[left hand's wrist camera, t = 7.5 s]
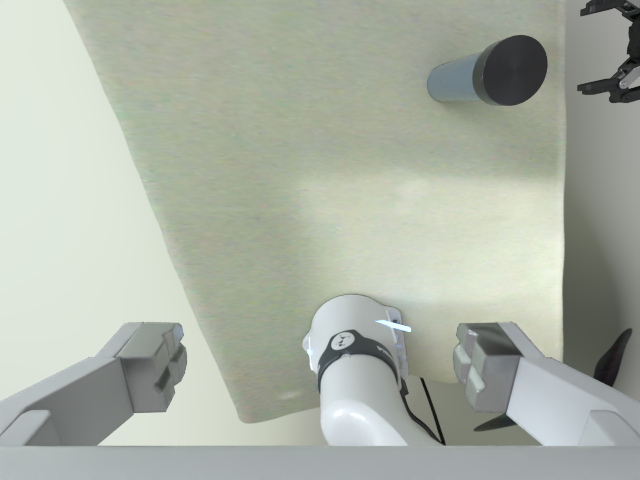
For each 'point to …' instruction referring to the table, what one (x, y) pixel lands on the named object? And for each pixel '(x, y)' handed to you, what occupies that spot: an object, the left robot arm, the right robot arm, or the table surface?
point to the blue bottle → (454, 81)
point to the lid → (510, 71)
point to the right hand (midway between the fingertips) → (582, 51)
